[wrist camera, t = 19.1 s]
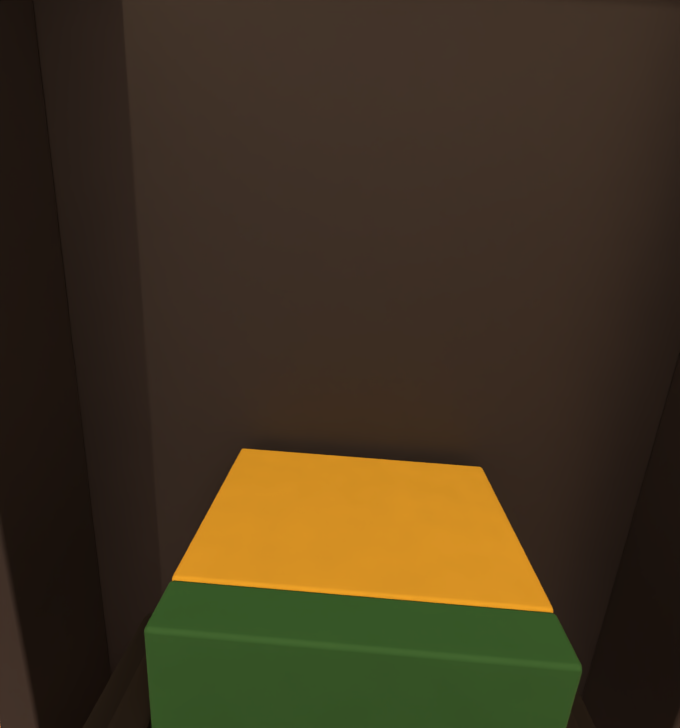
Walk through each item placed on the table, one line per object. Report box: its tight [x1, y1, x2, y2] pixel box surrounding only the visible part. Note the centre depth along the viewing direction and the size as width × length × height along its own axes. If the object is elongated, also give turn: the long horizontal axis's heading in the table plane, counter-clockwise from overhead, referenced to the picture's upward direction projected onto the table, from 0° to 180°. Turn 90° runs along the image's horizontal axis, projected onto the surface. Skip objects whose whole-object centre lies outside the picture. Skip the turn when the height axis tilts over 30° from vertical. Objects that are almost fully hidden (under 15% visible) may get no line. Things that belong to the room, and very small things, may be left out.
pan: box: [0, 0, 680, 728], centre depth 9 cm, size 26×14×3 cm, turn 177°
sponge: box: [144, 449, 582, 728], centre depth 8 cm, size 7×5×4 cm
